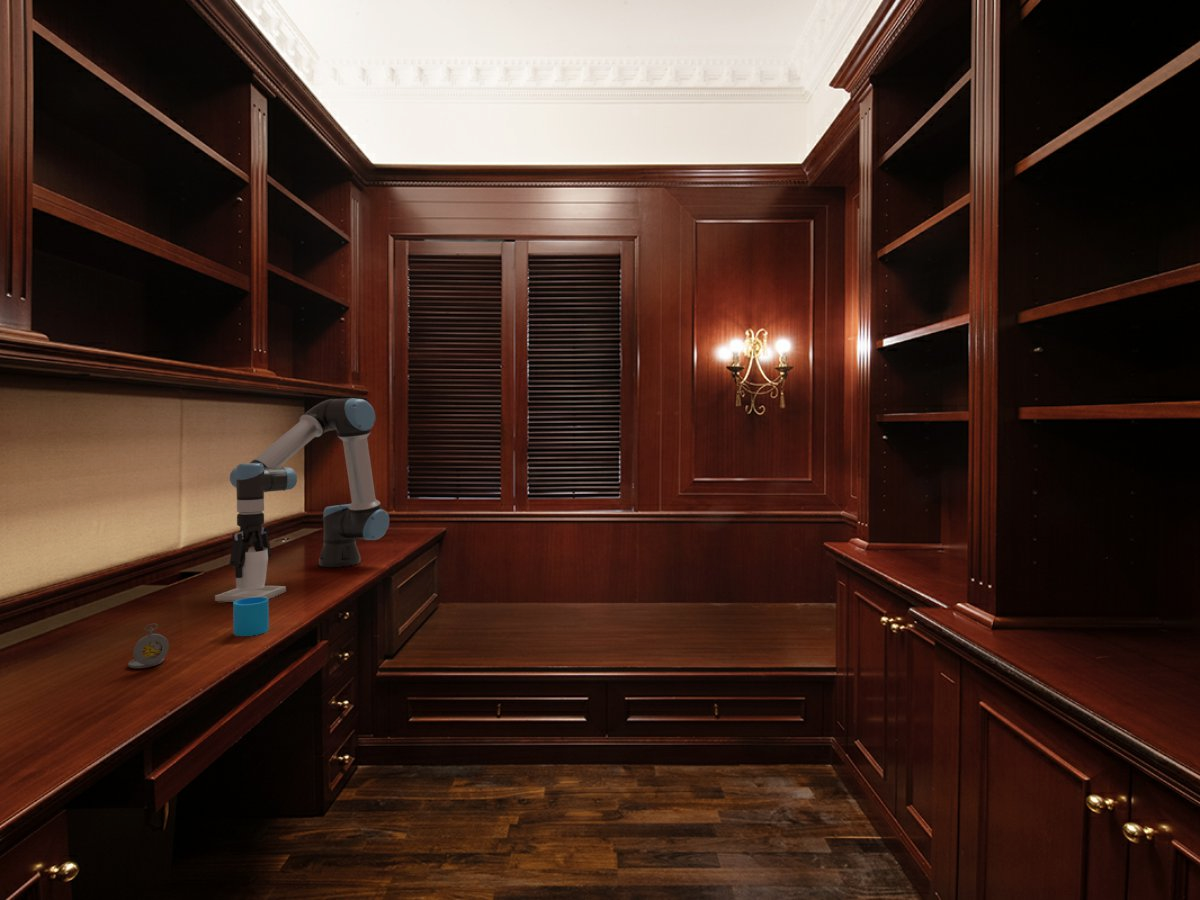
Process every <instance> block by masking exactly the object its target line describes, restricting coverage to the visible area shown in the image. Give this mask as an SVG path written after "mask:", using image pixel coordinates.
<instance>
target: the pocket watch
mask: <svg viewBox="0 0 1200 900" xmlns="http://www.w3.org/2000/svg"><path fill="white" fill-rule="evenodd" d="M151 625H154V626H155V628H153V627H152V626H151ZM148 626H150V627H149V628H148ZM158 627H159V625H158V624H157V623H149V624H147V625H145V627H144V628H143V630H144V631H147V632H148V633H149V634H147V635H144V636H142V637H141V638H140V639H139V640H138V641H137V642H136V644H135V645H134V646H133V650H132V652H133V653H132V656H133V657H134V658H133V659H131V660H129V662H128V667H129V668H131V669H146V668H151V667H154V666H155V667H156V666H157V665H160V664H162V663H163V662H164V661H165V657H166V656H167V654H168V652H169V649H170V642H169V641H168V639H167V638H166V637H165V636H164V635H162V634H160V633H153V632H154V631H155V630H156V629H158ZM147 628H148V629H147Z"/></svg>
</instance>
